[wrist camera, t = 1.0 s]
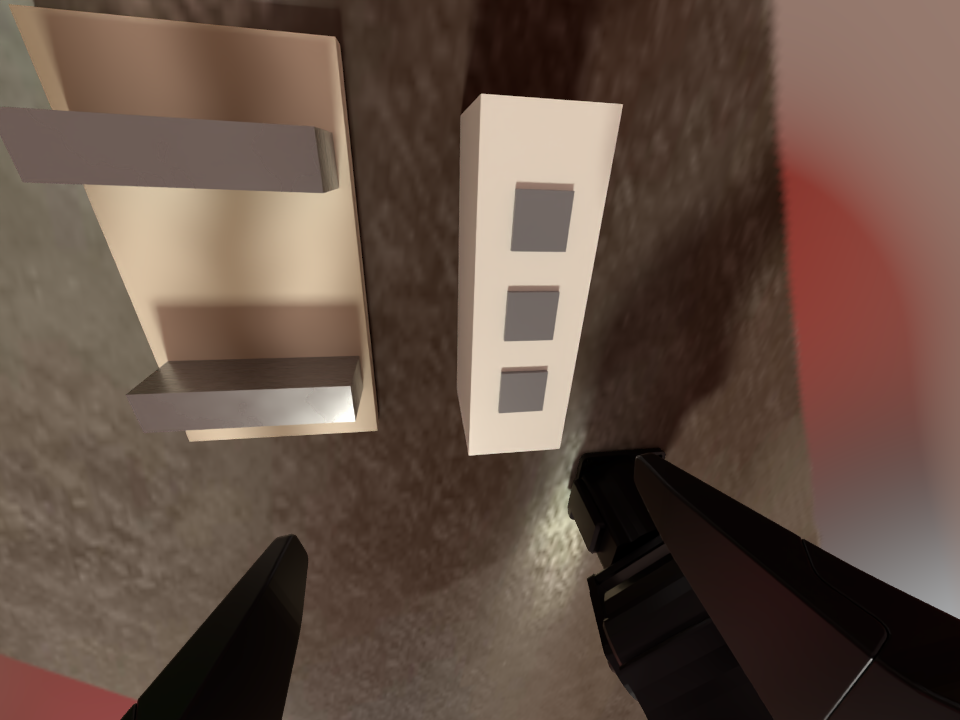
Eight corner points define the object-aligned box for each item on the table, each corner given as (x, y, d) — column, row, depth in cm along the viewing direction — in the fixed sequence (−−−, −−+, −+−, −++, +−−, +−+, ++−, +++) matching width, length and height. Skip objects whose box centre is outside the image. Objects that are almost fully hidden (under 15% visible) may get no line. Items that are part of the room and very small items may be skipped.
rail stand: (340, 44, 14) (315, 6, 11) (378, 420, 23) (371, 467, 19) (36, 15, 13) (-108, -41, 9) (199, 429, 21) (156, 482, 18)
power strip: (558, 122, 17) (625, 103, 11) (527, 384, 23) (561, 451, 18) (460, 115, 16) (482, 92, 11) (456, 387, 23) (469, 458, 17)
